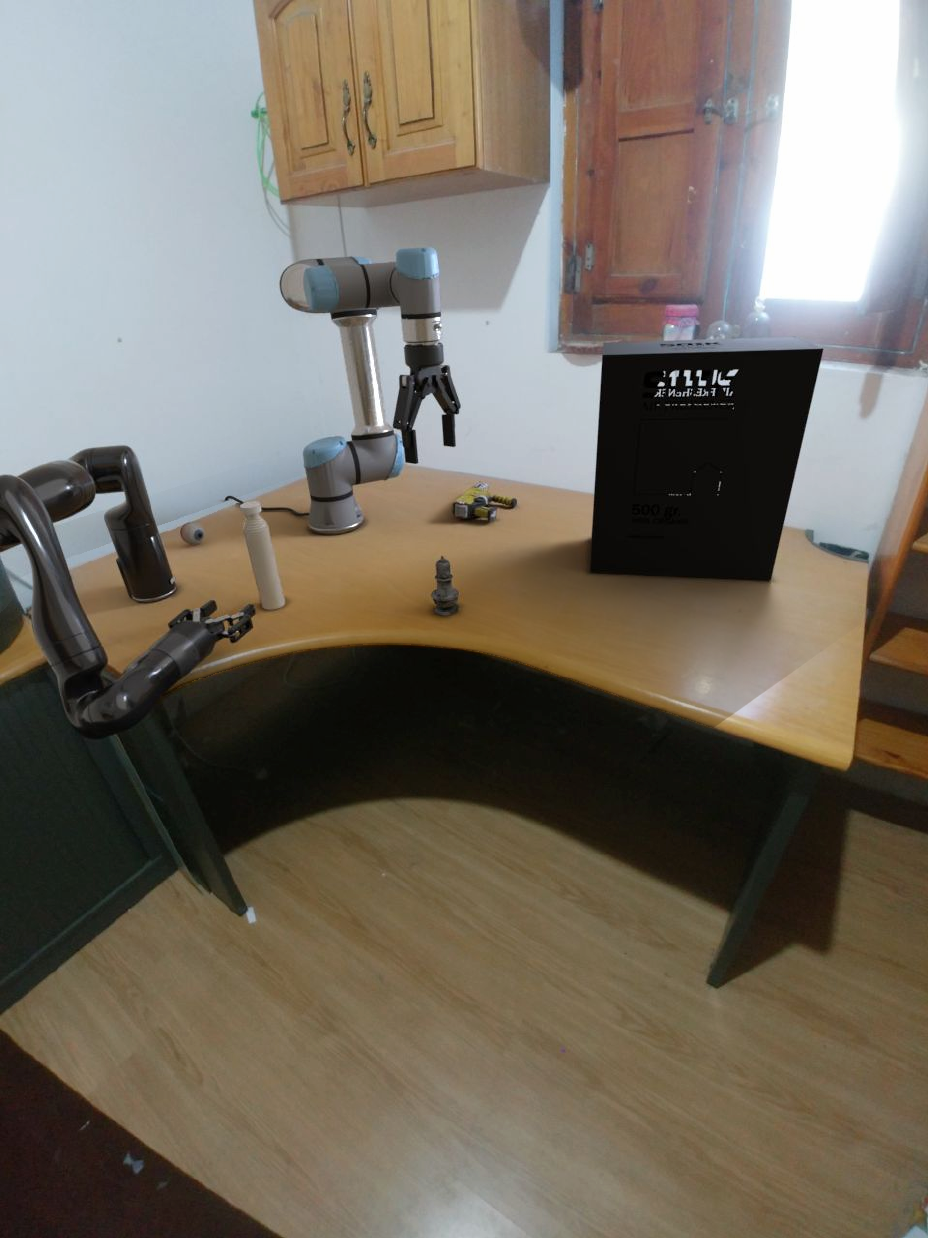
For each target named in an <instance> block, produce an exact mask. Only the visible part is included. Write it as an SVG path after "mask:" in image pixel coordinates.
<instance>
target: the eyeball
mask: <svg viewBox="0 0 928 1238" xmlns="http://www.w3.org/2000/svg"><path fill="white" fill-rule="evenodd" d="M179 532H180V533H179V535H180V538H181V539H182V542H184V543H185V544H187V545H191V546H192V545H193V546H194V545H199V544H200V543H202V542H203V540H204V539H205V535H206V533H205V528H204V527H203V526H202V525H201V524H200V523H198V522H195V521H190V522H189V521H188V522H186V523H184V524H183V525H182V526H181V528H180V530H179Z"/></svg>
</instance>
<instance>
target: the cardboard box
mask: <svg viewBox="0 0 928 1238" xmlns="http://www.w3.org/2000/svg"><path fill="white" fill-rule="evenodd" d="M601 353H602V355H601V371H600V388H599V389H600V390H599V405H598V423H597V439H596V454H595V455H596V456H595V472H594V473H595V474H594V487H593V488H594V491H593V505H592V506H593V509H592V526H591V540H590V541H591V543H590V559H589V574H614V575H637V576H638V575H641V576H660V577H663V576H664V577H686V578H708V579H709V578H710V579H730V580H731V579H733V580H735V579H736V580H754V581H755V580H756V581H757V580H758V581H772V577H773V573H774V569H775V565H776V560H777V557H778V556H777V555H778V551H779V548H780V543H781V537H782V534H783V529H784V526H785V520H786V515H787V511H788V507H789V502H790V499H791V495H792V489H793V486H794V481H795V476H796V472H797V467H798V464H799V459H800V454H801V451H802V445H803V441H804V436H805V433H806V428H807V424H808V419H809V415H810V412H811V411H810V410H811V406H812V403H813V397H814V392H815V388H816V384H817V380H818V376H819V371H820V366H821V361H822V359H823V358H822V357H823V353H824V347H821V346H818V345H816V344H813V343H811V342H808V341H805V340H804V339H801V338H798V337H796V336H771V337H769V336H768V337H766V336H765V337H737V338H708V339H707V338H706V339H679V340H678V339H675V340H673V339H672V340H649V341H648V340H645V341H617V342H616V341H615V342H614V341H613V342H603V343H602V352H601ZM736 370H737V371H736ZM677 371H678V375H677V376H676V377H675V382H674V383H675V385H672V383H673V376H671V374H672V373H674V372H677ZM685 371H689V372H690V374H689V382H691V385H687V379H688V377H687V375H685ZM699 371H701V373H700V375H698V372H699ZM715 371H716V375H715ZM733 371H736V373H734V375H729V373H730V372H733ZM714 375H715V376H716V377H715V380H714ZM719 377H720V378H719ZM700 381H701V382H705V385H700ZM713 381H715V382H714V383H713ZM719 381H729V382H728V384H725V385H724V384H720V383H719ZM660 383H663V384H664V385H660Z"/></svg>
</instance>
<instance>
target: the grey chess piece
mask: <svg viewBox="0 0 928 1238" xmlns="http://www.w3.org/2000/svg"><path fill="white" fill-rule="evenodd" d="M453 578H454V576H453V574H452V572H451V562H450V560H448V559H446V558H445V556H444V555H441V556H440V559H438V560H436V561H435V576H434V579H435V580H436V588H435V589H434V590H432V591H431V592H430V598H431V599H432V602H433V603H434V605H435V606H434V607H433V613H434V614H436V615H438V616H452V615H455V614H456V613H458V612H459V610H460V606H459V605H458V604H457V602H458V600H459V596H460V594H461V593H460V591H459V589H457V588H456V587H453V581H452V579H453Z"/></svg>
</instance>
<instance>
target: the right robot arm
mask: <svg viewBox="0 0 928 1238" xmlns="http://www.w3.org/2000/svg"><path fill="white" fill-rule="evenodd" d="M440 272H441V271H440V267H439V259H438V253H437V251H436V249H435V248H434V247H430V246H429V247H427V246H426V247H407V248H405V247H404V248H400V249H398V250H397V251H396V253H395V261H388V262H375V263H373V262H372V261H371V259H369V258H367V257H364V256H352V255H351V256H340V257H339V256H338V257H337V256H336V257H325V258H324V257H323V258H307V259H301V260H299V261H296V262H294V263H291V264H290V265H288V266H287V267H286V268H285V269H283V271H282V273H281V274H280V278H279V281H278V282H279V291H280V295H281V297H282V299H283V300H284V302H285V303H286V305H288V306H289V307H290V308H292V309H293V310H296V311H298V312H301V313H307V314H330V320H331V322H332V323H333V324H334V325H335V326H336V327H337V328H338V331H339V336H340V343H341V349H342V354H343V361H344V366H345V367H344V368H345V372H346V379H347V385H348V391H349V397H350V404H351V409H352V416H353V423H354V427H353V429H352V430H351V432H350V438H351V440H349V441H347V440H346V438H345V437H343V436H341V435H335V436H327V437H323V438H320V439H317V440H314V441H312V442H310V443H308V444H307V445H305V447H304V448H303V450H302V457H303V459H302V460H303V467H304V469H305V470H304V471H305V476H306V481H307V486H308V492H309V498H310V507H309V512H297V511H295V510H294V509H293V508H290V507H284V506H281V507H280V506H278V507H277V506H275V507H274V506H273V507H262V506H261V509H262V511H286V512H291V513H292V514H293V515H295V516H297V517H308V521H307V522H308V523H307V524H308V528H309V529H308V530H310V531H311V532H312V533H314V534H317V535H323V536H324V535H325V536H327V535H329V536H331V535H339V534H340V535H341V534H345V533H350V532H353V531H355V530H357V529H359V528H361V527H362V526H363V525H364V523H365V519H364V514H363V512H362V508H361V505H359V504H358V501H357V500H356V498H355V495H354V489H353V486H358V485H363V484H369V483H374V482H380V481H384V482H385V481H388V480H390V479H395V478H397V477H399V476H400V475H401V474H402V471H403V469H404V464H405V463H406V464H412V465H417V464H419V455H418V444H417V431H416V429H414V425H415V423H416V419H417V416H418V414H419V411H420V408H421V405H422V402H423V400H425V399H426V397H427V396H429V395H431V394H432V395H433V398H434V399H435V400H436V402H437V404H438V405H439V407H440V408H441V410H442V412H443V414H441V427H442V443H443V447H450V448H456V446H457V445H456V444H457V443H456V417H455V415H459V414H460V410H461V408H462V405H461V404H462V403H461V402H460V399H459V395H458V393H457V391H456V387H455V384H454V381H453V379H452V374H451V367H450V366H451V365H449V364H444V362H445V355H444V344H443V343H442V342H440V341H441V340H442V339H443V328H442V309H441V308H442V307H441V288H440ZM393 307H399V308H400V321H401V333H402V334H401V335H402V341H403V342H404V343H406V344H405V345H404V347H403V352H404V353H403V354H404V364H405V365H406V367H408V368H409V374H399V377H398V385H399V386H398V387H399V388H398V392H397V399H396V404H395V409H394V416H393V421H392V425H390V424H389V423H388V422H387V421H388V420H387V413H386V408H385V407H386V406H385V401H384V393H383V386H382V379H381V373H380V366H379V359H378V353H377V352H378V351H377V345H376V344H377V343H376V337H375V331H374V323H375V322H376V320H377V318H378V310H380V309H381V308H393ZM394 429H396V430H398V431H400V433H401V435H399V434H398V433H396V432H395V431H394ZM229 499H231V500H234V501H235V502H237V503H239V504H240V505H241V504H243V503H245V502H243V500H241V499H239V498H237V497H235V496H233V495H227V496H225V498H224V501H228V500H229Z"/></svg>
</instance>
